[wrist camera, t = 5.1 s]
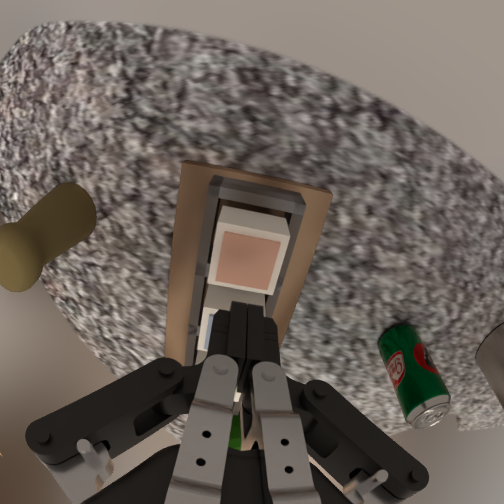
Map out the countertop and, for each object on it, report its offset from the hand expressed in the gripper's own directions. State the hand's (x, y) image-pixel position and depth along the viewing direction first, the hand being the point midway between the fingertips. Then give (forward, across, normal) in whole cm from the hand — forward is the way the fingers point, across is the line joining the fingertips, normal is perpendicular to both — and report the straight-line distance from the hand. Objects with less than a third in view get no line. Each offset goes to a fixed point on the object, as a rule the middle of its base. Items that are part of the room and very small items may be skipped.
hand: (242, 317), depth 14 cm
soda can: (+13, -20, +11) cm, 26 cm away
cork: (+13, +17, +2) cm, 21 cm away
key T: (+8, 0, +6) cm, 11 cm away
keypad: (+13, 0, +10) cm, 16 cm away
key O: (+8, 0, 0) cm, 8 cm away
